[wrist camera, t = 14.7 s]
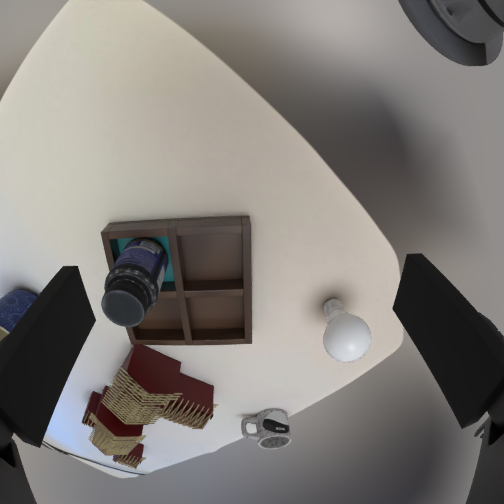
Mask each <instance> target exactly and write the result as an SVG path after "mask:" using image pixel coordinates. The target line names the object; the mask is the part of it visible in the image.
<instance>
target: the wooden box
mask: <svg viewBox="0 0 504 504" xmlns="http://www.w3.org/2000/svg"><path fill="white" fill-rule="evenodd" d="M101 236H102V241H103V245H104V250H105V254H106V258H107V263H108V267H109V271H111V269H112V267H113V266H114V264H115V262H116V261H117V259H118V258H119V256H120V254H121V253H122V251H123V250H124V248H125V247H126V245H127V244H128V243H129V242H130V241H131V240H133V239H135V238H142V237H147V238H151V239H153V240H155V241H157V242H158V243H159V244H160V245H162V247H163V248H164V250H165V251H166V253H167V256H168V267H167V270H166V273H165V276H164V279H163V282H162V285H161V289H160V292H159V295H158V298H157V301H156V304H155V305H154V307H153V308H152V309H151V310H150V311H148V312H147V313H146V314H145V317H144V319H143V321H142V322H141V323H140V324H138V325H137V326H133V327H126V330H127V333H128V336H129V339H130V342H131V344H138V345H230V344H252V276H251V222H250V217H249V216H230V217H204V218H183V219H164V220H147V221H131V222H117V223H109V224H108V225H107V226H106V227H105V228H104V229H103V230H102V232H101Z"/></svg>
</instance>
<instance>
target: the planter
mask: <svg viewBox="0 0 504 504" xmlns="http://www.w3.org/2000/svg"><path fill="white" fill-rule="evenodd" d="M36 298H37V297H36V296H35V295H33V294H32V293H30V292H28V291H25V290H14V291H11V292H9V293H8V294H6V295H5V296H4V297H3V298H2V299H1V300H0V341H1V340H2V339H3V338H4V337H5V336H7V335H8V334H9V333H10V332H11V331H12V330H13V329H14V327H15V326H16V324H17V323H18V322H19V320H20V319H21V318H22V316H23V315H24V314H25V312H26V311H27V310H28V308H29V307H30V306H31V304H32V303H33V302H34V301H35V299H36Z"/></svg>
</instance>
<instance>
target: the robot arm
mask: <svg viewBox="0 0 504 504" xmlns="http://www.w3.org/2000/svg"><path fill="white" fill-rule="evenodd" d="M427 2H428V4H429V6H430V7H431V9H432V10H433V12H434V13H435V15H436V16H437V17H438V19H439V20H440V21H441V22H442V24H443V25H444V26H445V27H446V28H447V29H448V30H449V31H451V32H452V33H453V34H454V35H456V36H457V37H458V38H460V39H462V40H464V41H466V42H469V43H485V42H488V41H490V40H492V39H493V38H494V37H496V36H498V35H499V34H501V33H502V32H504V0H427ZM393 311H394V312H395V314H396V315H397V317H398V318H399V320H400V321H401V323H402V325H403V326H404V328H405V329H406V331H407V333H408V334H409V336H410V337H411V339H412V340H413V342H414V344H415V345H416V347H417V349H418V350H419V352H420V354H421V355H422V357H423V359H424V360H425V362H426V364H427V366H428V367H429V369H430V371H431V372H432V374H433V376H434V378H435V379H436V381H437V383H438V385H439V387H440V388H441V390H442V392H443V394H444V396H445V397H446V399H447V401H448V403H449V405H450V407H451V409H452V410H453V412H454V415H455V416H456V418H457V420H458V422H459V424H460V426H461V428H462V429H463V428H465V427H467V426H469V425H471V424H473V423H476V422H477V421H478V420H479V419H480V418H481V417H482V416H483V415H484V413H485V412H486V411H487V412H488V414H489V415H490V416H489V417H488V419H487V420H486V421H485V422H484V423H483V424H482V425H481V426H480V428H479V429H478V430H477V431H476V433H475V435H474V436H475V437H476V436H478V435H479V434H480V433H481V431H482V430H483V429H484V433H483V434H482V435H481V436H480V438H483V439H482V445H481V449H480V454H479V459H478V463H477V467H476V471H475V475H474V478H473V482H472V485H471V489H470V492H469V495H468V498H467V501H466V504H504V336H503V335H502V334H501V332H500V331H498V329H497V328H496V326H495V325H494V324H493V323H492V322H491V321H490V320H489V319H488V318H486V317H485V316H484V315H482V314H481V313H478V312H477V311H476V309H475V308H474V307H473V306H472V305H471V304H470V303H469V302H468V301H467V300H466V298H465V297H464V296H463V295H462V294H461V293H460V292H459V291H458V290H457V289H456V288H455V287H454V286H453V284H452V283H451V282H450V281H449V280H448V279H447V278H446V277H445V276H444V275H443V274H442V273H441V272H440V271H439V270H438V269H437V268H436V267H435V266H434V265H433V264H432V263H431V262H430V261H429V260H428V259H427V258H426V257H424V255H423V254H407V256H406V260H405V264H404V269H403V272H402V276H401V280H400V284H399V288H398V291H397V295H396V298H395V302H394V305H393ZM95 321H96V319H95V316H94V313H93V311H92V308H91V305H90V302H89V300H88V297H87V294H86V291H85V288H84V285H83V282H82V278H81V275H80V272H79V269H78V266H63V267H62V268H61V269H60V270H59V271H58V273H57V274H56V275H55V276H54V277H53V279H52V280H51V281H50V282H49V283H48V285H47V286H46V287H45V288H44V289H43V291H42V292H41V293H40V294H39V296H38V297H37V298H36V299H35V301H34V302H33V303H32V304H31V306H30V307H29V308H28V310H27V311H26V312H25V314H24V315H23V316H22V318H21V319H20V320H19V322H18V323H17V324H16V326H15V327H14V329H13V330H12V331H11V332H10V333H9V334H8V335H7V336H5V337H4V338H3V339H2V340H1V341H0V504H37V503H36V501H35V498H34V496H33V493H32V491H31V488H30V485H29V483H28V480H27V477H26V474H25V471H24V468H23V465H22V462H21V459H20V456H19V452H18V449H17V445H16V443H15V441H14V440H13V439H12V436H13V433H15V434H16V435H17V436H18V437H19V438H20V439H21V440H22V441H23V442H25V443H28V444H31V445H33V446H36V447H39V448H40V446H41V444H42V441H43V438H44V435H45V433H46V430H47V427H48V425H49V422H50V419H51V417H52V414H53V412H54V409H55V407H56V404H57V402H58V400H59V397H60V395H61V393H62V390H63V388H64V386H65V383H66V381H67V379H68V377H69V375H70V372H71V370H72V368H73V366H74V364H75V362H76V359H77V357H78V355H79V353H80V351H81V349H82V347H83V345H84V343H85V341H86V339H87V337H88V335H89V333H90V331H91V329H92V327H93V325H94V323H95Z"/></svg>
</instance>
